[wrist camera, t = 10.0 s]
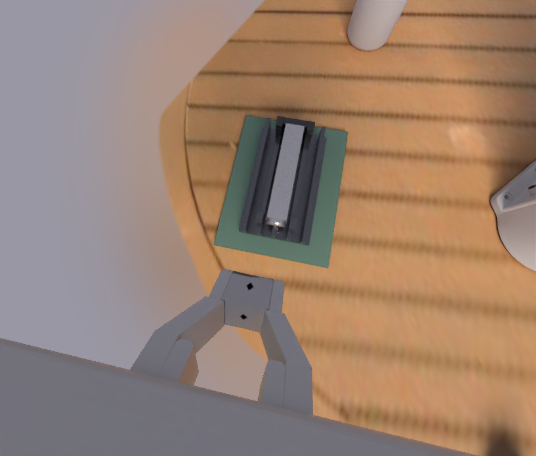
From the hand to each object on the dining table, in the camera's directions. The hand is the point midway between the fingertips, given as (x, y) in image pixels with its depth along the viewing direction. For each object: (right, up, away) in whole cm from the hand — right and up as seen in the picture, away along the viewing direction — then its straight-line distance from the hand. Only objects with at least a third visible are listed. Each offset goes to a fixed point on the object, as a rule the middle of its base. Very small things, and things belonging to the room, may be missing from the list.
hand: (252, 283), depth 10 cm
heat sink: (+4, +10, +28) cm, 30 cm away
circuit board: (+4, +10, +28) cm, 30 cm away
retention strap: (+3, +11, +22) cm, 25 cm away
